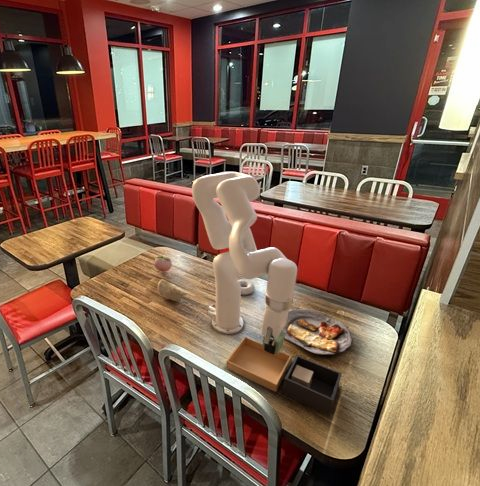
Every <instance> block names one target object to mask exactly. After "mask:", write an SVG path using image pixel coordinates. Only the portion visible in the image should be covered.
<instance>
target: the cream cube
mask: <svg viewBox="0 0 480 486" xmlns="http://www.w3.org/2000/svg"><path fill="white" fill-rule="evenodd" d="M312 377H313V371H310V370H308V369H306V368H303V367H301V366H299V365H297V366H296V368H295V370H294V372H293V374H292V377H291V380H292V381H294V382H297V383H299V384H301V385H303V386H305V387H308V388H310V385H311V383H312Z"/></svg>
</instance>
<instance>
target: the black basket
mask: <svg viewBox="0 0 480 486" xmlns="http://www.w3.org/2000/svg"><path fill="white" fill-rule="evenodd" d="M297 365H299V366H301V367H303V368H306V369H308V370H310V371H313V377H312V383H311V385H310V388H308V387H305V386H303V385H301V384H299V383H297V382H294V381H292V380H291V377H292V374H293V372H294V370H295V368H296V366H297ZM342 374H343V373H342V372H340V371H337V370H335V369H333V368H331V367H328V366H325V365H322V364H321V363H318V362H316V361H313V360H311V359H309V358H305V357H303V356H300V355H298V354H296V356H295V357H294V360H293V362H292V363H291V365H290V367H289V369H288V371H287V374H286V375H285V378H284V383H283V390H282V394H284V395H286V396H288V397H289V398H292V399H294V400H297V401H299V402H301V403H302V404H305V405H307V406H308V407H310V408H313V409H315V410H317V411H319V412H321V413H323V414H326V415H327V416H329V417H330V416H331V413H332V410H333V406H334V403H335V400H336V396H337V393H338V390H339V386H340V382H341V378H342Z"/></svg>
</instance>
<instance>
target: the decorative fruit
mask: <svg viewBox="0 0 480 486" xmlns="http://www.w3.org/2000/svg"><path fill="white" fill-rule="evenodd" d="M154 258H155V259H154V262H153V265H154V267H155V269H156V270H157V271H160V272H162V273H165V272H168V271H170V269H171V268H172V264H173V262H172V259H171V258H170V257H169V256H168V255H164V254H161V255H155V257H154Z"/></svg>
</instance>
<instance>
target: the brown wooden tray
mask: <svg viewBox="0 0 480 486" xmlns="http://www.w3.org/2000/svg"><path fill="white" fill-rule="evenodd" d="M262 345H263V342H262V343H261V342H260V341H257V340H255V339H252V338H249V337H247V336H244V337H243V338H242V340H241V341H240V342H239V344H238V345H237V346H236V347H235V349H234V351H233V352H232V353H231V354H230V355H229V357H228V358H227V360H226V363H225V367H226V369H228V370H229V371H231V372H234V373H236V374H238V375H240V376H242V377H243V378H246V379H248V380H250V381H252V382H254V383H256V384H258V385H260V386H262V387H264V388H266V389H269V390H270V391H272V392H274V393H277V391H278V389H279V387H280V385H281V383H282V381H283V379H284V377H285V376H286V373H287V372H288V370H289V368H290V366H291V364H292V358H293V357H292V356H293V355H291V354H289V353H286V352H284V351H282V350H280V352H279V353H278V355H277V354H274V355H273V354H271V353H268V352H266V351H264V349H263V348H262Z"/></svg>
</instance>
